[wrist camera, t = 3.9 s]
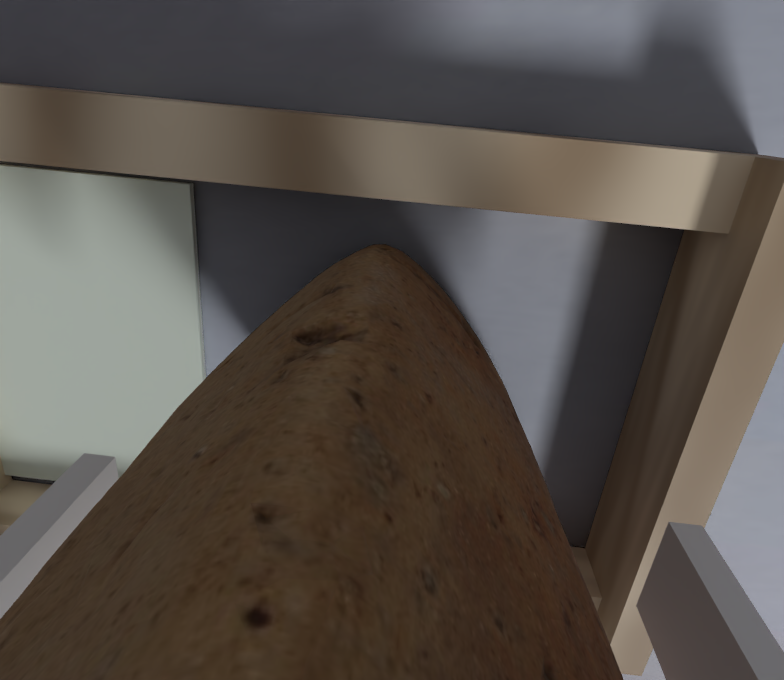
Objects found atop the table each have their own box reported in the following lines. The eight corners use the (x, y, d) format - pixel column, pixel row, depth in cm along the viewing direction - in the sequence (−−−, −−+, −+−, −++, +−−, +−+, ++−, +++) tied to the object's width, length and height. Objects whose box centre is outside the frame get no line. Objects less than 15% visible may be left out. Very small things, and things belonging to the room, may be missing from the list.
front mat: (10, 470, 23) (5, 474, 23) (-71, 156, 18) (-79, 157, 17) (213, 494, 23) (210, 499, 22) (193, 183, 17) (189, 184, 17)
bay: (-11, 511, 24) (-90, 583, 20) (-138, 69, 17) (-297, 58, 13) (608, 586, 23) (641, 676, 20) (759, 154, 16) (857, 168, 12)
